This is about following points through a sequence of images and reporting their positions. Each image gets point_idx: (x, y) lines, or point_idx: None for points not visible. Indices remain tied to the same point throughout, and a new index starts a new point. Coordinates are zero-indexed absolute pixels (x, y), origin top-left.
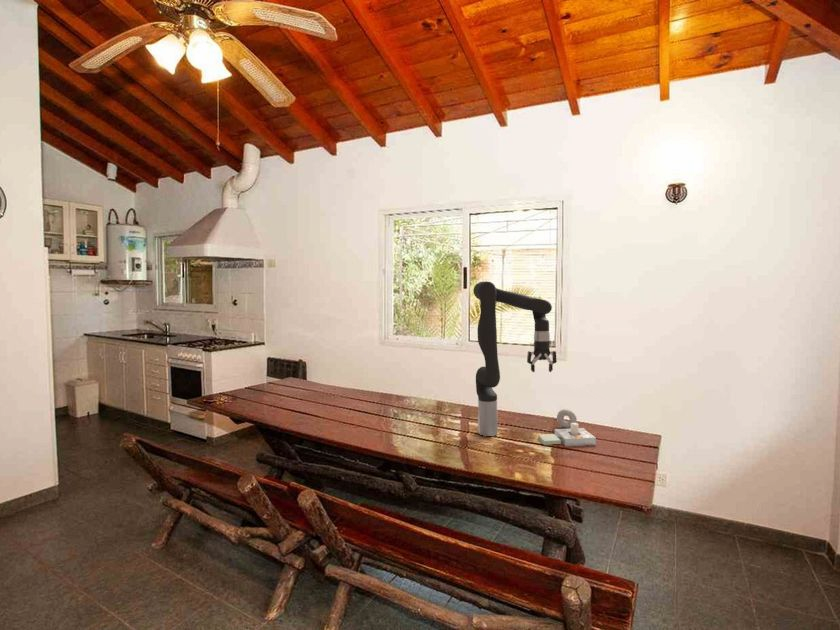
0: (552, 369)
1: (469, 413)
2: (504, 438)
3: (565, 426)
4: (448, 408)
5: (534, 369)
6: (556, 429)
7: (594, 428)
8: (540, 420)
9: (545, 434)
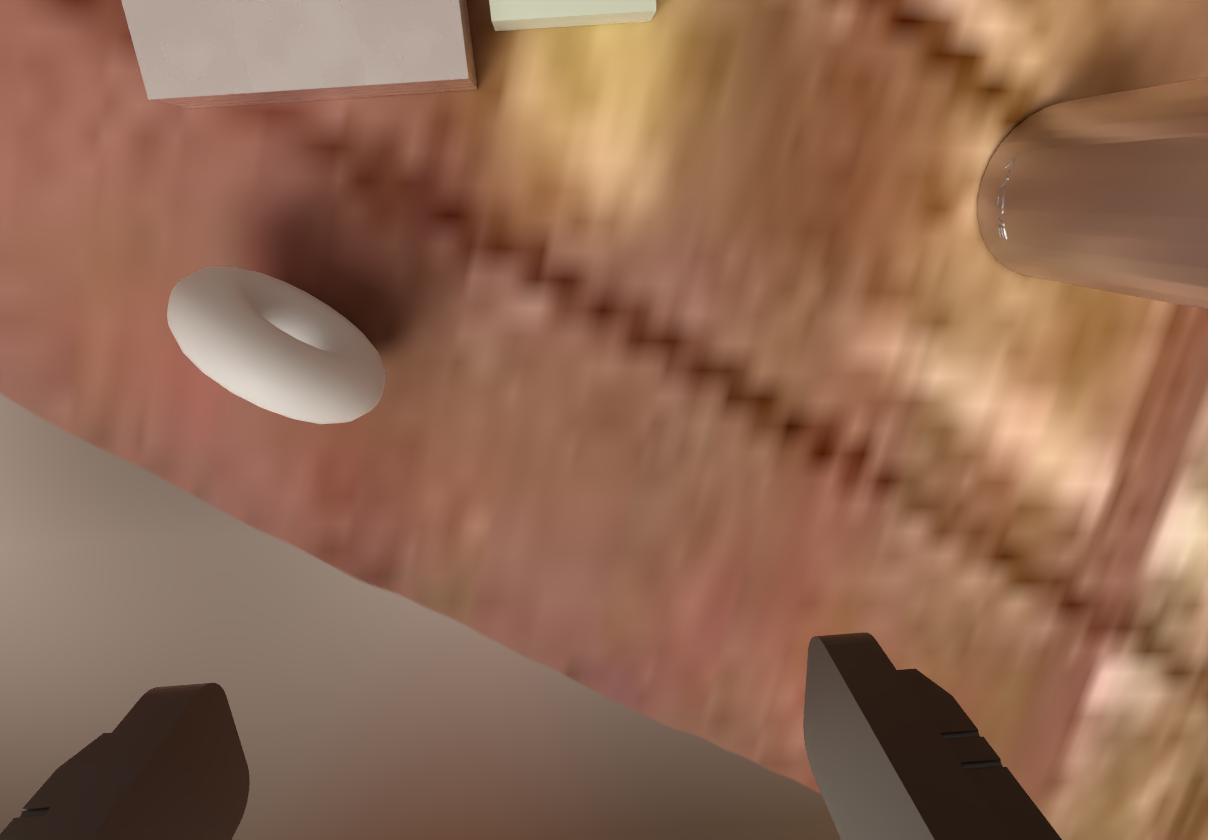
0: (55, 777)
1: (1021, 714)
2: (957, 49)
3: (327, 306)
4: (1129, 818)
5: (860, 695)
6: (450, 64)
7: (54, 315)
8: (513, 547)
9: (582, 6)
